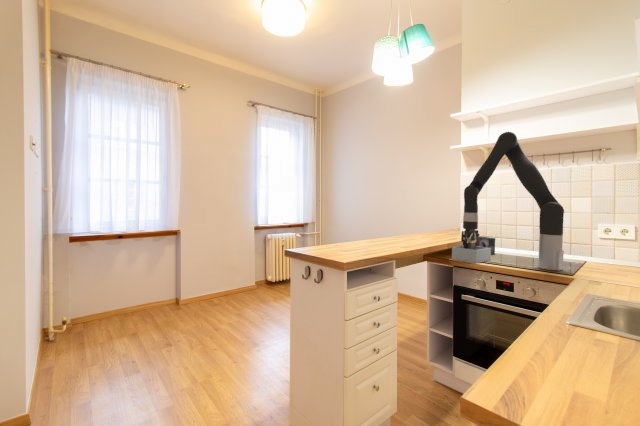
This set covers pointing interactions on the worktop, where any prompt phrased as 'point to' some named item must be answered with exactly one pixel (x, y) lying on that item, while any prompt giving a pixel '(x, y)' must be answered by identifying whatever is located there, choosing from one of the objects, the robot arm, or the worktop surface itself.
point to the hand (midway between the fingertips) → (469, 248)
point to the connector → (471, 244)
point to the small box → (487, 243)
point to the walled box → (471, 254)
